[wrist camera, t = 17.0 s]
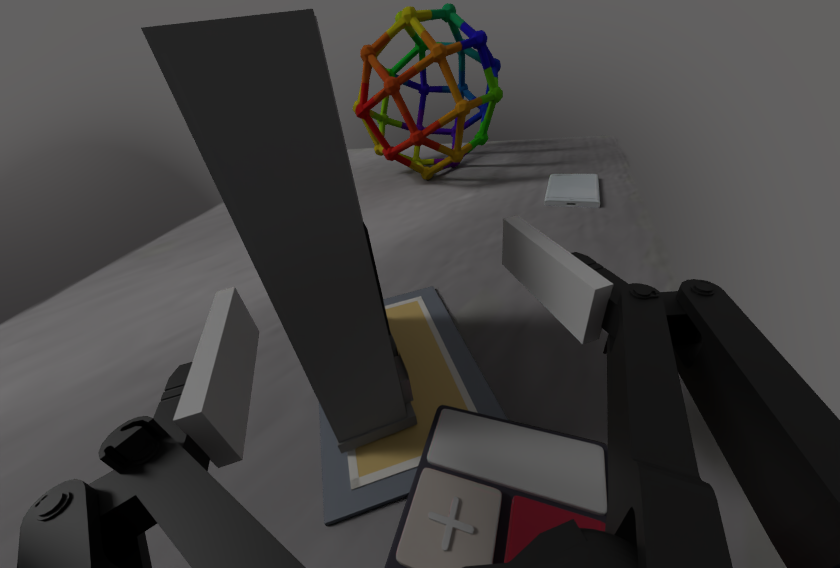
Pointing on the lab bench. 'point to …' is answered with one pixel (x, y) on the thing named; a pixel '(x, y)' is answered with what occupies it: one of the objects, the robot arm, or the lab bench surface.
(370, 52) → the geometric model
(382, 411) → the grey instrument box
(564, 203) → the hard drive
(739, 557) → the lab bench surface
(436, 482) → the calculator
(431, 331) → the picture board
